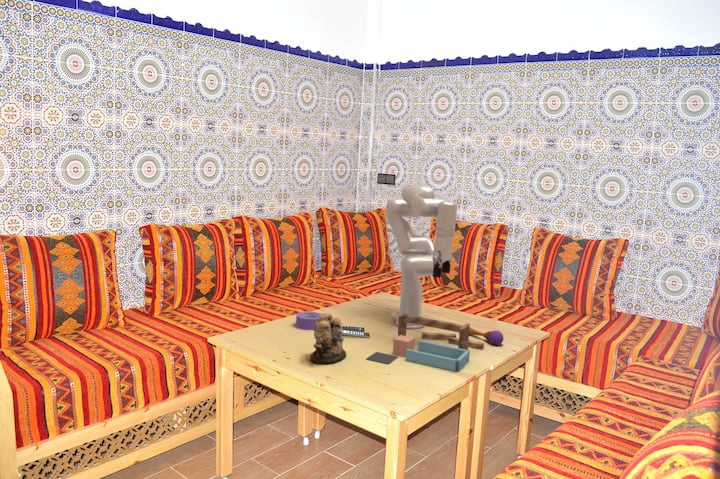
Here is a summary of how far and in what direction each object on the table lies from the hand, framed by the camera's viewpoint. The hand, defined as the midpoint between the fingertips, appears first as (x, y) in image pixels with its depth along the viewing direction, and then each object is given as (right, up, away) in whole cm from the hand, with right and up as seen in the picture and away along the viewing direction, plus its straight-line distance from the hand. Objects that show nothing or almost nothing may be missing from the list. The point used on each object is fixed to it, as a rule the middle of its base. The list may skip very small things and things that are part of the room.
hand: (441, 274), depth 230 cm
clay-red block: (-16, -30, -9) cm, 35 cm away
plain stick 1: (0, -28, +10) cm, 30 cm away
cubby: (-4, -31, -15) cm, 35 cm away
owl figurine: (-44, -30, -18) cm, 56 cm away
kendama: (+19, -28, +13) cm, 36 cm away
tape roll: (-54, -24, +19) cm, 62 cm away
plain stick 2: (+10, -29, +3) cm, 31 cm away
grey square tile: (-24, -30, -16) cm, 42 cm away
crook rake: (-4, -28, +1) cm, 29 cm away
